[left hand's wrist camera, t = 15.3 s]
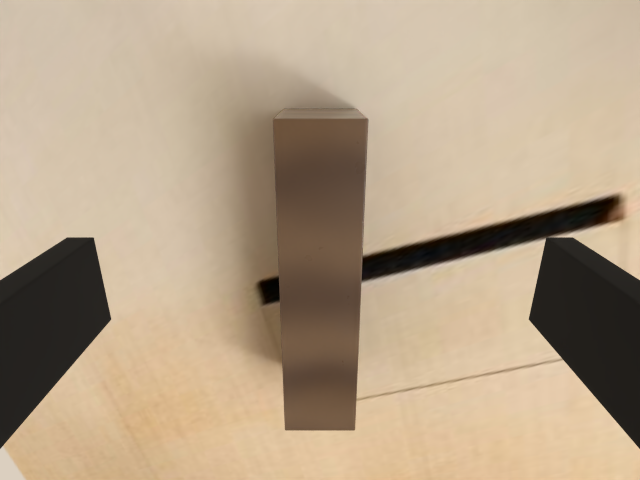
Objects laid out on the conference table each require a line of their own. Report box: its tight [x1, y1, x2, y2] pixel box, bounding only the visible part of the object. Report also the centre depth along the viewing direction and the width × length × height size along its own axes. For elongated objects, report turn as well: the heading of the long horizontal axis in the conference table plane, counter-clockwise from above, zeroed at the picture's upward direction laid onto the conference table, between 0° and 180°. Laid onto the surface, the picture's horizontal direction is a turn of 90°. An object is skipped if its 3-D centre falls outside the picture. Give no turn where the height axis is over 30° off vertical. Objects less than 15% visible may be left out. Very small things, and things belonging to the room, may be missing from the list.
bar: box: [273, 109, 368, 430], centre depth 33 cm, size 24×6×8 cm, turn 0°
